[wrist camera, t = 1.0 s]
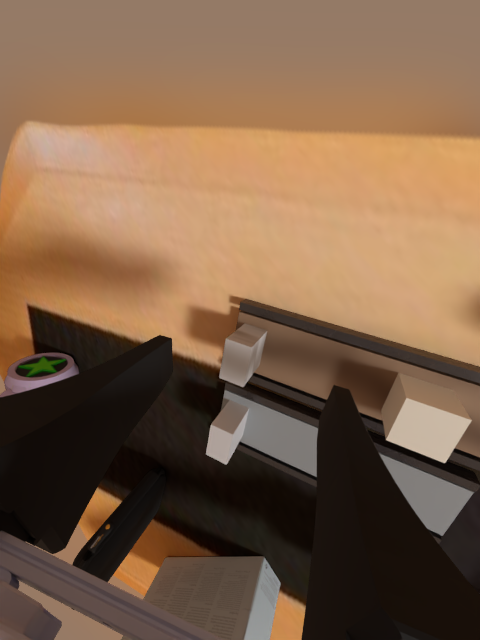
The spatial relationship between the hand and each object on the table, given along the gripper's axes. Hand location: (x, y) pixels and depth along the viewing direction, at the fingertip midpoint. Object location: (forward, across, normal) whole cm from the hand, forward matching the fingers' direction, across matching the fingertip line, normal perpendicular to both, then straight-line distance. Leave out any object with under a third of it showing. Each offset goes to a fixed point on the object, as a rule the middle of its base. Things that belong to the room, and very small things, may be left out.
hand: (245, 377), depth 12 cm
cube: (+11, -13, +8) cm, 19 cm away
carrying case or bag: (+10, +12, +36) cm, 39 cm away
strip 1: (+13, -8, +8) cm, 17 cm away
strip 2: (+11, -8, +18) cm, 22 cm away
